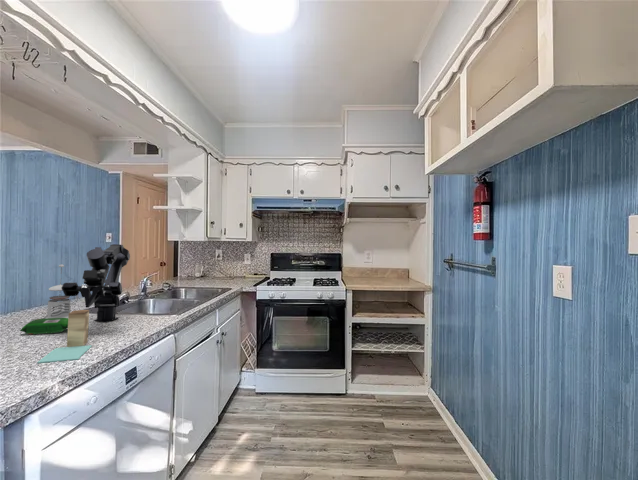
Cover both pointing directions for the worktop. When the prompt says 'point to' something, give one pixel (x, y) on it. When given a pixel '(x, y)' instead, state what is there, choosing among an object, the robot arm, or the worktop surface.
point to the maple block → (78, 328)
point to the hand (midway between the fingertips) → (87, 307)
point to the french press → (59, 303)
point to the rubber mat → (65, 354)
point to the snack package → (46, 326)
